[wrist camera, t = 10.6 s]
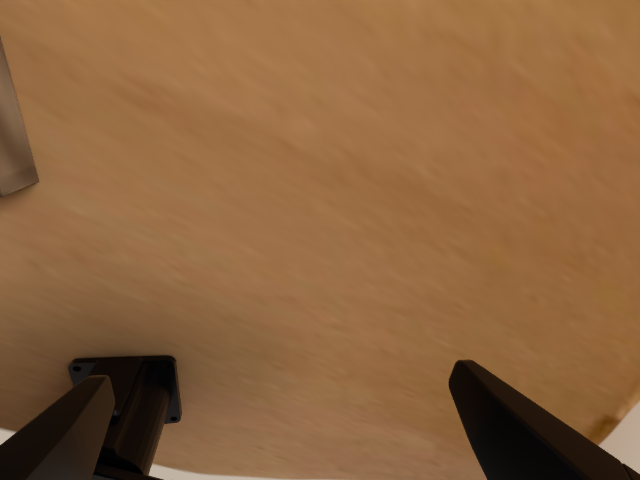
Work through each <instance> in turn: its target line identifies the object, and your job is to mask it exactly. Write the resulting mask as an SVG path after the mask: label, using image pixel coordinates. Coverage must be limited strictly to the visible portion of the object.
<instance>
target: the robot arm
mask: <svg viewBox="0 0 640 480" xmlns="http://www.w3.org/2000/svg"><path fill="white" fill-rule="evenodd" d="M167 363H169V364H167ZM78 366H79V367H78ZM69 372H70V376H71V379H72V382H73V385H74V387H73V388H72V389H71V390H69V391H68V392H67V393H66V394H64V395H63V396H62V397H61V398H59V399H58V400H57V401H56V402H54V403H53V404H52V405H51V406H49V407H48V408H47V409H45V410H44V411H43V412H42V413H40V414H39V415H38V416H37V417H35V418H34V419H33V420H32V421H30V422H29V423H28V424H27V425H25V426H24V427H23V428H22V429H20V430H19V431H18V432H16V433H15V434H14V435H13V436H11V437H10V438H9V439H8V440H6V441H5V442H4V443H3V444H1V445H0V480H163V479H159V478H156V477H152V476H148V475H149V471H150V468H151V465H152V462H153V459H154V455H155V452H156V449H157V445H158V442H159V439H160V435H161V432H162V429H163V426H164V424H168V423H177V422H179V421H180V419H181V415H182V411H181V402H180V393H179V384H178V375H177V366H176V360H175V358H174V357H172V356H143V357H113V358H83V359H75V360H73V361H72V363H71V364H70V366H69ZM449 389H450V392H451V395H452V397H453V400H454V403H455V405H456V408H457V411H458V413H459V416H460V419H461V421H462V424H463V427H464V429H465V432H466V434H467V437H468V439H469V442H470V444H471V447H472V449H473V451H474V453H475V455H476V457H477V459H478V462H479V464H480V466H481V468H482V470H483V472H484V474H485V476H486V478H487V480H640V474H638V473H637V472H636V471H634V470H633V469H631V468H630V467H628V466H627V465H625V464H622V463H621V462H620V461H619V460H618V459H617V458H615V457H614V456H612V455H610V454H609V453H608V452H606V451H605V450H603V449H602V448H600V447H599V446H597V445H596V444H595V443H593V442H592V441H590V440H589V439H587V438H586V437H584V436H583V435H581V434H580V433H578V432H577V431H575V430H574V429H573V428H571V427H570V426H568V425H567V424H565V423H564V422H562V421H561V420H559V419H558V418H556V417H555V416H553V415H552V414H551V413H549V412H548V411H546V410H545V409H543V408H542V407H540V406H539V405H537V404H536V403H534V402H533V401H532V400H530V399H529V398H527V397H526V396H524V395H523V394H521V393H520V392H518V391H517V390H515V389H514V388H512V387H511V386H510V385H508V384H507V383H505V382H504V381H502V380H501V379H499V378H498V377H496V376H495V375H493V374H492V373H490V372H489V371H488V370H486V369H485V368H483V367H482V366H480V365H479V364H477V363H476V362H474V361H472V360H458V361H457V362H456V363H455V365H454V368H453V370H452V373H451V375H450V378H449Z"/></svg>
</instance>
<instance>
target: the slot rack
mask: <svg viewBox="0 0 640 480" xmlns="http://www.w3.org/2000/svg"><path fill="white" fill-rule="evenodd" d="M36 182H39V179H38V176H37V172H36V168H35V165H34V161H33V157H32V153H31V150H30V146H29V142H28V139H27V135H26V131H25V127H24V124H23V120H22V116H21V113H20V109H19V105H18V101H17V98H16V94H15V90H14V87H13V83H12V79H11V75H10V72H9V68H8V64H7V61H6V57H5V53H4V49H3V46H2V42H1V38H0V196H5V195H7V194H9V193H12V192H14V191H17V190H19V189H22V188H24V187H26V186H29V185H31V184H34V183H36Z"/></svg>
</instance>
